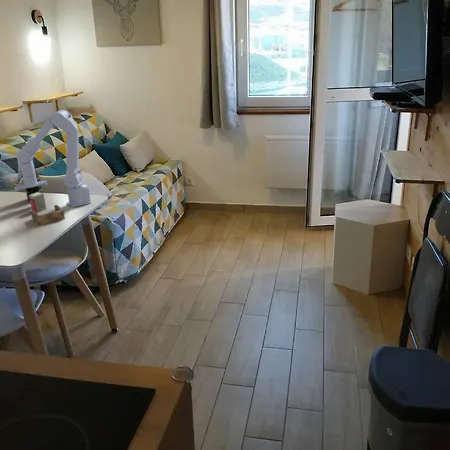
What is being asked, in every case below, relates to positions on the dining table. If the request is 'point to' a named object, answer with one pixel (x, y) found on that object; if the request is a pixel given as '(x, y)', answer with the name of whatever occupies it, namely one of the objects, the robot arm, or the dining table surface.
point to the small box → (37, 201)
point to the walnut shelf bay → (48, 216)
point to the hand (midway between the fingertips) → (34, 202)
